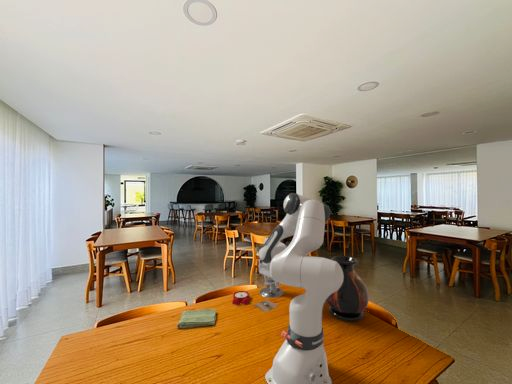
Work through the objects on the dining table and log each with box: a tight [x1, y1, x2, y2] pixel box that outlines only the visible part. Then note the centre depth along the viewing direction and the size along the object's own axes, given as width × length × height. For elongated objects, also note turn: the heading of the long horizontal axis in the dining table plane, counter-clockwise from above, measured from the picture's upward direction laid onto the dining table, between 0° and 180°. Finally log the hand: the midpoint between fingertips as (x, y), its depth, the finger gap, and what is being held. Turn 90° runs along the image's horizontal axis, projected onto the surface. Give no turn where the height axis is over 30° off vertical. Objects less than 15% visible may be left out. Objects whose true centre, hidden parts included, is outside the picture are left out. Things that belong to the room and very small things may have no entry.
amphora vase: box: [325, 255, 370, 323], centre depth 109 cm, size 22×22×28 cm
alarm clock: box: [231, 290, 250, 306], centre depth 123 cm, size 10×6×15 cm
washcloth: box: [176, 308, 217, 330], centre depth 105 cm, size 13×18×3 cm
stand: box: [253, 299, 279, 313], centre depth 116 cm, size 10×10×2 cm
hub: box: [259, 286, 284, 299], centre depth 133 cm, size 15×15×4 cm
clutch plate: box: [263, 277, 280, 289], centre depth 133 cm, size 6×8×3 cm
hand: (271, 284), depth 133 cm, fingers closed on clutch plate, 6 cm apart
